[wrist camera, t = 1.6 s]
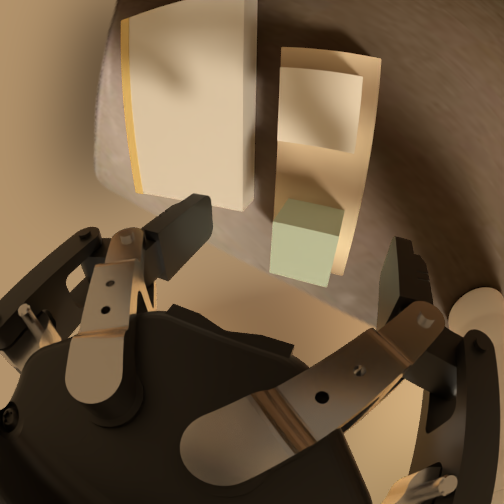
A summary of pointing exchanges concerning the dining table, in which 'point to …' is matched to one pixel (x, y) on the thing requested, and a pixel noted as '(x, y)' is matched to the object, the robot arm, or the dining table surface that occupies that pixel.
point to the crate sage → (305, 241)
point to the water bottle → (500, 332)
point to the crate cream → (319, 108)
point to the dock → (192, 99)
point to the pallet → (327, 160)
